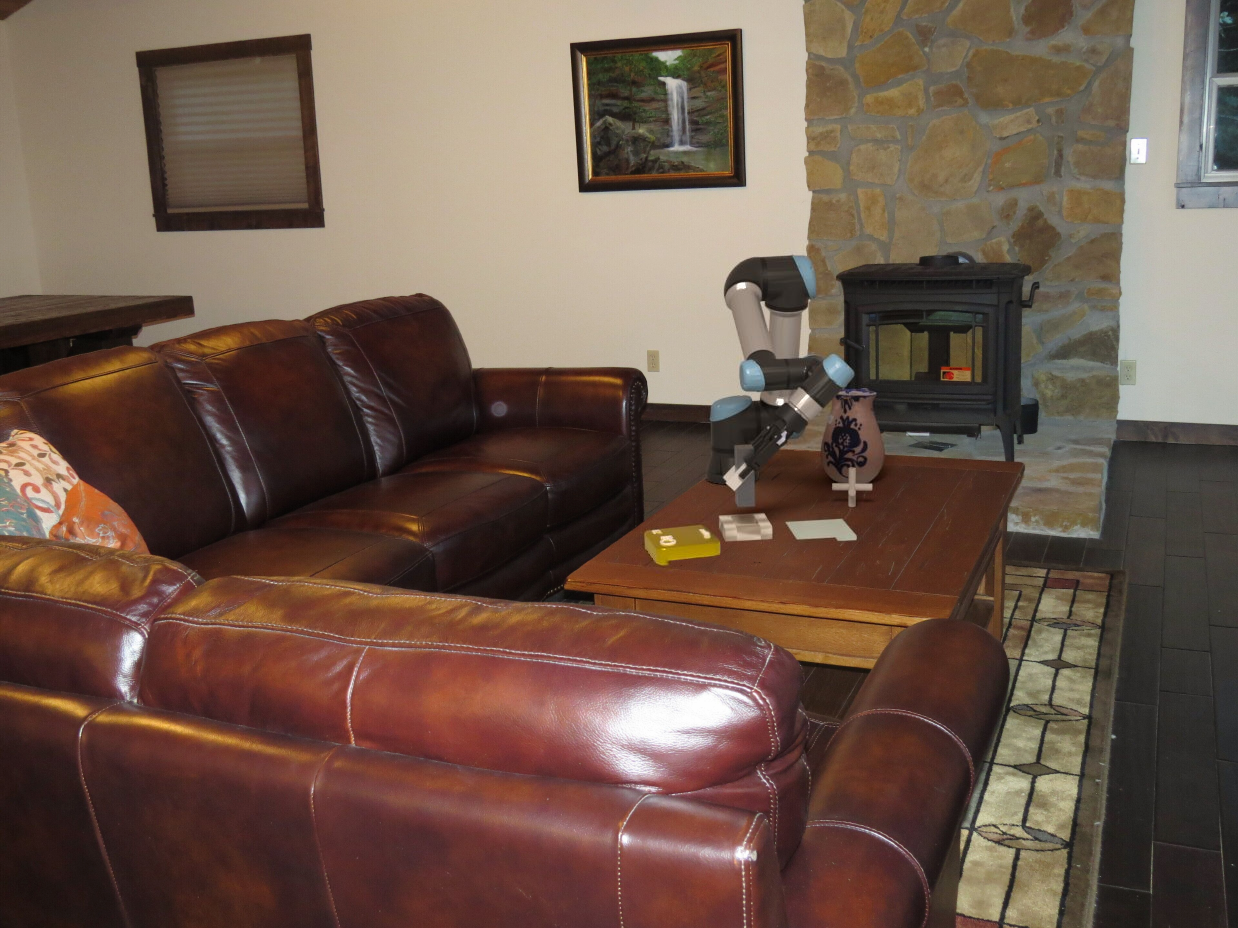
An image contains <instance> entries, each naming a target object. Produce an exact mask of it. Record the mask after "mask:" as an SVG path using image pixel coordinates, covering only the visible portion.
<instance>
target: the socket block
mask: <svg viewBox="0 0 1238 928" xmlns="http://www.w3.org/2000/svg"><path fill="white" fill-rule="evenodd" d="M718 528H719V531H720V533H721V535H722V536H723V539H724V542H736V541H737V542H740V541H755V540H756V541H757V540H772V539H773V526H772V524H771V522H770V521H769V519H768V518H767V516H766V514H765V512H762V513H761V512H759V513H744V514H743V513H741V514H740V513H739V514H725V515H721V514H720V515H718Z"/></svg>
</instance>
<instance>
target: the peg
mask: <svg viewBox="0 0 1238 928" xmlns="http://www.w3.org/2000/svg"><path fill="white" fill-rule="evenodd" d="M734 449H735V472H736V471H737V470H738V469H739V468H740V467H741V466H742V465H743V464H744V463H745V462H744V461H745V460H747V461H749V460H750V459H751V457H752V456H753V455H754V447H753V446H752V445H751V444H749V445H734ZM755 482H756V481H755V476H754V471H753V472H752V473H751V474H750V475H749V476H748V477H747V478H746V479H745V480H744V481H743V482H742V484H741V485H740V486H739V487H738V488H737V489H736V490H735V491H734V495H735V497H734V498H735V499H734V500H735V501H734V502H735V504H736V506H737V508H747V507H749V508H750V507H755V506H756V497H755V496H756V493H755V492H756V489H755V487H756V486H755V485H756V484H755Z"/></svg>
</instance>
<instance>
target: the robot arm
mask: <svg viewBox="0 0 1238 928" xmlns="http://www.w3.org/2000/svg"><path fill="white" fill-rule="evenodd" d="M817 288H818V287H817V279H816V272H815V268H814V265H813V263H812V260H811V258H810V257H808V256H807V255H805V254H804V255H797V254H795V255H794V254H790V255H775V256H774V255H773V256H753V257H749V258H746V259H744V260H742V261H740V262H739V263H737V264H736V265H735V266H734V267H733V269H732V270H731V271H730V272H729V274H728V275H727V277H726V280H725V283H724V286H723V298H724V301H725V302H724V303H725V304H726V305H725V306H726V307H727V309H729V310H730V311H731V314H732V317H733V321H734V326H735V328H736V333H737V337H738V342H739V344H740V348H741V352H742V354H743V355H742V356H743V359H744V360H743V361H741V362H740V364H739V375H738V376H739V378H738V379H739V384H740V387H741V389H742V391H743V392H748V393H750V392H752V393H753V392H755V393H760V395H759V400H758V399H757V400H753V399H752V396H750V395H747V394H746V395H745V394H744V395H742V394H741V395H731V396H727V397H723V398H719V399H717V400H715V401H714V402H713V403H712V404H711V406H710V415H709V416H710V417H709V421H710V437H711V438H710V441H711V442H710V446H711V447H710V449H711V454H710V456H709V461H708V463H707V467H706V470H705V480H706V479H708V480H706V481H707V482H709V481H710V482H709V483H711V482H713V483H712V484H715V483H718V484H717V485H723V484H726V486H728V487H729V488H731V489H732V491H734V492H735V490H736V489H737V488H738V487H739V486H740V485H741V484H742V482H743V481H744V480H745V479H746V478H747V477H748V476H749V475H750V474H751V473H752V472H753V471H754V476H755V482H756V481H759V479H760V470H761V468H762V467H764V465H765V464H766V463H768V461H769V460H771V459H772V458H773V456H775V454H776V453H777V452H779V450H781V449H782V448H783V447H784V446H785V445H786V444H788V441H790V440H796V439H799V438H801V437H802V435H803V434H804V432H805V431H806V428H807V426H809V422H808V421H810V422H811V421H813V420H814V419H815V418H816V417H817V416H821V415H822V413H821V411H822V410H824V409H825V407H827V405H829V404H830V403H831V402H832V399H833V398H834V397H835V396H836V395H837V394H838V393H839V392H840V391H841V390H843V389H844V388H846V387H848V384H849V383H850V382H851V381H852V380H853V378H854V377H855V371H854V370H853V369H852V368H851V367H850V366H849V365H848V364H847V362H845V361H844V360H843V359H842V358H841V357H840V356H838V355H837V354H836V353H832V354H830V355H828V356H827V357H823V356H821V355H820V354H819V355H818V354H815V353H813V354H810V353H809V354H806V355H805V356H803V357H800V347H801V346H800V345H801V335H802V333H801V332H802V318H803V313H804V312H805V311H806V310H807V309H808V308H809V301H811V300H814V299H815V298H816V297H817V292H818V291H817ZM761 302H764V307H765V308H766V309H767V310H768V312H769V321H768V322H769V323H768V325H769V326H768V325H767V321H766V318H765V314H764V312H763V311H764V310H763V307H762V304H761ZM749 444H751V445H752V446H753V447H754V455H753V456H752V457H751V459H750V460H749V461H747V460H745V461H744V462H745V463H744V464H743V465H742V466H741V467H740V468H739V469H738V470H737V471H736V472H735V449H734V445H749Z"/></svg>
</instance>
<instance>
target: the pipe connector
mask: <svg viewBox="0 0 1238 928" xmlns="http://www.w3.org/2000/svg"><path fill="white" fill-rule="evenodd" d="M831 484H832V487H831V488H832V489H831V490H832V491H848V495H847V496H848V497H847V499H848V507H850V508H855V507H856V501H857V500H856V499H857V495H856V493H857V491H866V492H868V491H869V492H871V491H873V483H864V484H856V468H849V484H848V483H839V482H837V483H834V482H833V483H831Z"/></svg>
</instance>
